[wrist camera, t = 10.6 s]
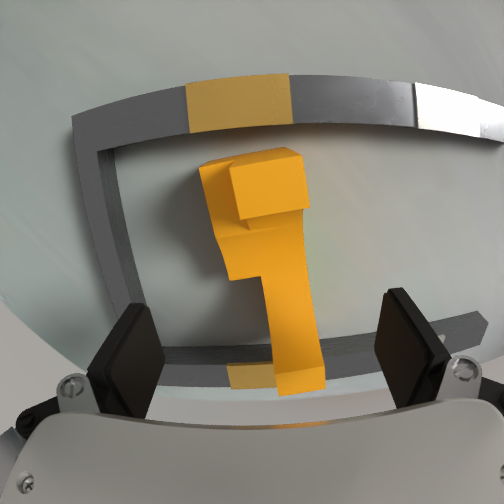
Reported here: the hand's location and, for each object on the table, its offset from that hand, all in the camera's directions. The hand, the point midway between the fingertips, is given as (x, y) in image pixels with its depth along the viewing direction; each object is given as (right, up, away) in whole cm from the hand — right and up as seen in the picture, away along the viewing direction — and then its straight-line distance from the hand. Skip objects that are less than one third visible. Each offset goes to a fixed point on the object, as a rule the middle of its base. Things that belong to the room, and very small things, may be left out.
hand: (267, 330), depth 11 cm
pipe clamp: (0, +3, +7) cm, 8 cm away
